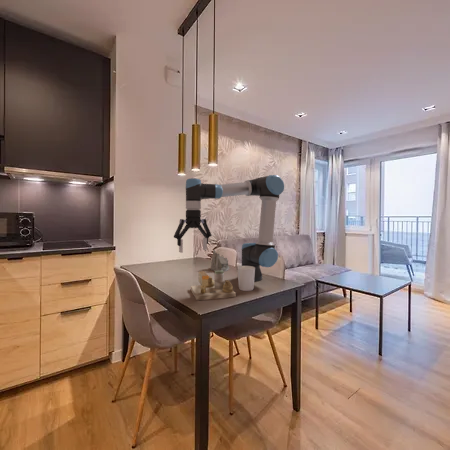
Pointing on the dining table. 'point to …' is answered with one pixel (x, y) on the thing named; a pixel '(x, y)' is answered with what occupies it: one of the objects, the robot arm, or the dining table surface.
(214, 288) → the beige square board
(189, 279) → the dining table surface
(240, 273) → the candle holder
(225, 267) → the ceramic cottage
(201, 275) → the wing knob
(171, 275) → the dining table surface
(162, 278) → the dining table surface
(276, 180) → the robot arm
